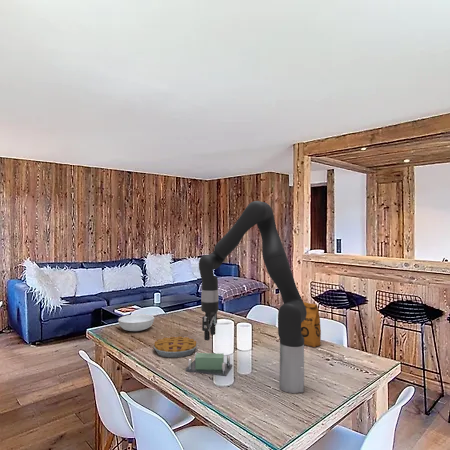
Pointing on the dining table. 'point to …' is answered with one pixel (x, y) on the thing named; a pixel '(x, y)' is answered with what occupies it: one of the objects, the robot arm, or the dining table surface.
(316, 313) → the coffee package
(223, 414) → the dining table surface
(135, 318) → the serving bowl
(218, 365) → the board
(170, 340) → the pie
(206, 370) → the chassis
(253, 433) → the dining table surface
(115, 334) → the dining table surface
